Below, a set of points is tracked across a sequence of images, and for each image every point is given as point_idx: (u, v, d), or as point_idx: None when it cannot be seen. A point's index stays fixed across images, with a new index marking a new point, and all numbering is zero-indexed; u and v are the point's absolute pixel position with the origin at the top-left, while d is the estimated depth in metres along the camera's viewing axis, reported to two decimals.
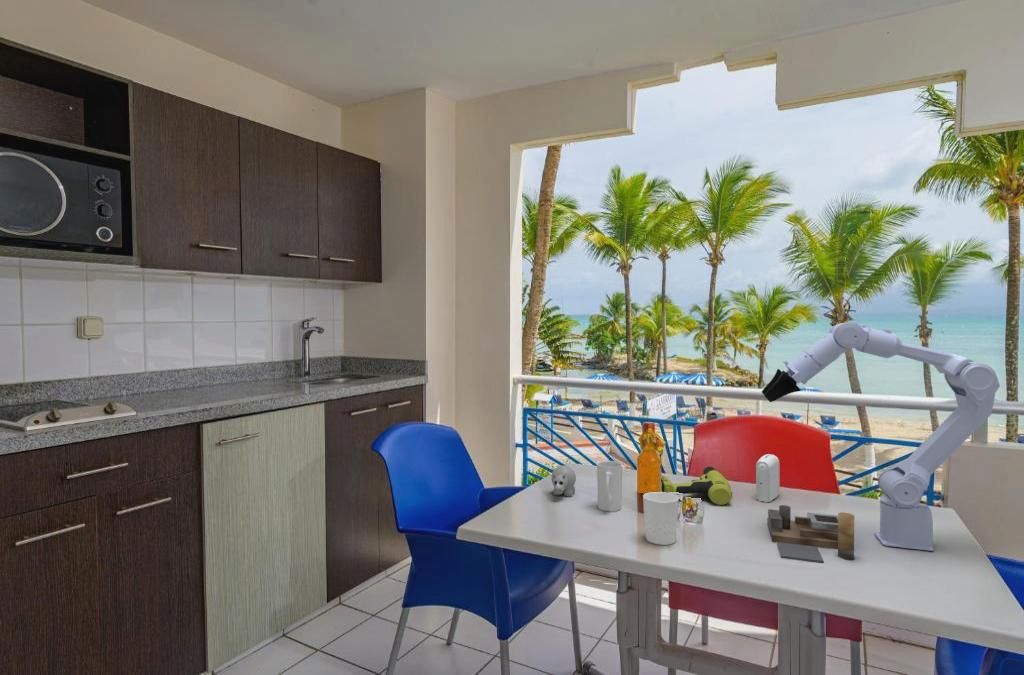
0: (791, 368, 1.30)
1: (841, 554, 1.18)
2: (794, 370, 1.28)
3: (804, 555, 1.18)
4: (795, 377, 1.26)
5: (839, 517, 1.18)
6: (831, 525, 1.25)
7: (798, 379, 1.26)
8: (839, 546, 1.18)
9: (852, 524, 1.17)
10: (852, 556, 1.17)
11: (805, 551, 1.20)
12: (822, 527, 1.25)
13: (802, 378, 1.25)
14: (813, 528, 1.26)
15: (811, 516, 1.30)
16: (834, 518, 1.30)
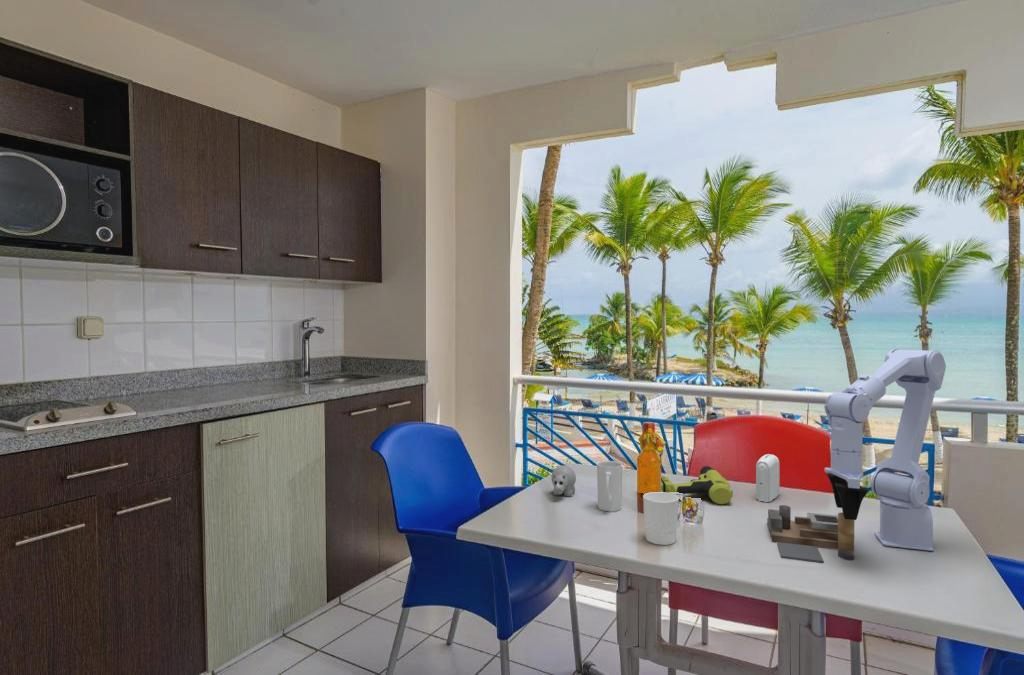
0: (838, 475, 1.15)
1: (841, 554, 1.18)
2: (843, 477, 1.14)
3: (804, 555, 1.18)
4: (851, 485, 1.11)
5: (839, 517, 1.18)
6: (831, 525, 1.25)
7: (856, 485, 1.11)
8: (839, 546, 1.18)
9: (852, 524, 1.17)
10: (852, 556, 1.17)
11: (805, 551, 1.20)
12: (822, 527, 1.25)
13: (858, 481, 1.11)
14: (813, 528, 1.26)
15: (811, 516, 1.30)
16: (834, 518, 1.30)
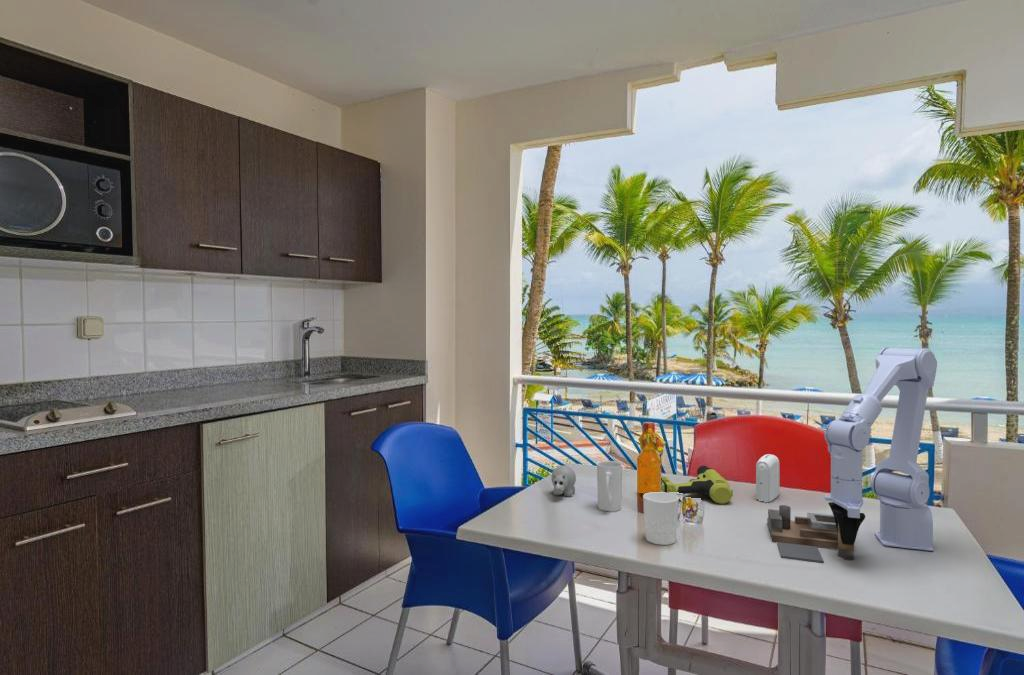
0: (838, 504, 1.16)
1: (841, 554, 1.18)
2: (843, 506, 1.14)
3: (804, 555, 1.18)
4: (851, 515, 1.11)
5: None
6: (831, 525, 1.25)
7: (856, 514, 1.11)
8: (839, 546, 1.18)
9: None
10: (852, 556, 1.17)
11: (805, 551, 1.20)
12: (822, 527, 1.25)
13: (858, 511, 1.11)
14: (813, 528, 1.26)
15: (811, 516, 1.30)
16: None
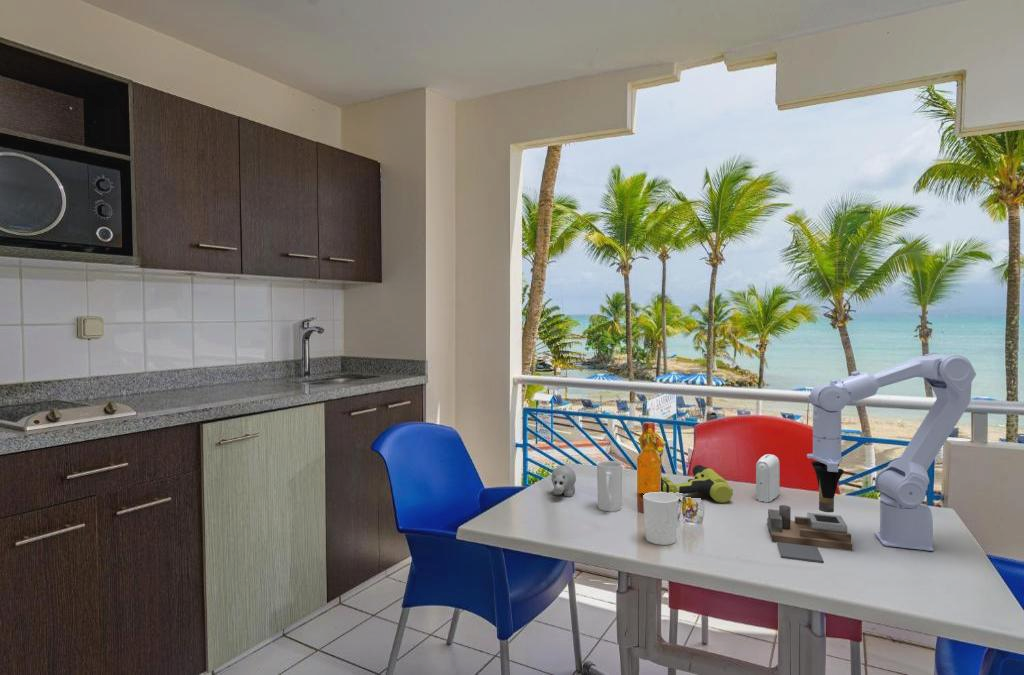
0: (819, 460, 1.25)
1: (822, 507, 1.28)
2: (823, 461, 1.24)
3: (804, 555, 1.18)
4: (830, 469, 1.21)
5: None
6: (831, 525, 1.25)
7: (834, 468, 1.21)
8: (820, 500, 1.28)
9: None
10: (832, 509, 1.27)
11: (805, 551, 1.20)
12: (822, 527, 1.25)
13: (836, 465, 1.21)
14: (813, 528, 1.26)
15: (811, 516, 1.30)
16: (834, 518, 1.30)
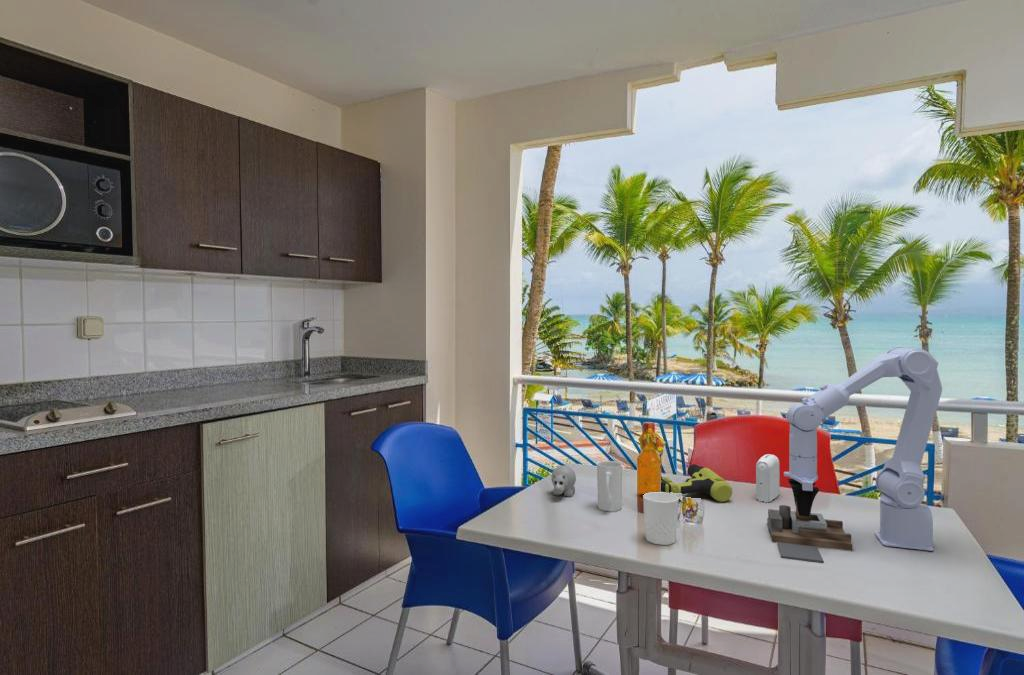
0: (795, 479, 1.27)
1: None
2: (799, 480, 1.26)
3: (804, 555, 1.18)
4: (805, 488, 1.23)
5: None
6: (811, 523, 1.26)
7: (809, 487, 1.23)
8: (797, 517, 1.30)
9: None
10: None
11: (805, 551, 1.20)
12: (802, 525, 1.27)
13: (811, 484, 1.23)
14: (793, 526, 1.27)
15: (792, 514, 1.31)
16: (815, 516, 1.31)
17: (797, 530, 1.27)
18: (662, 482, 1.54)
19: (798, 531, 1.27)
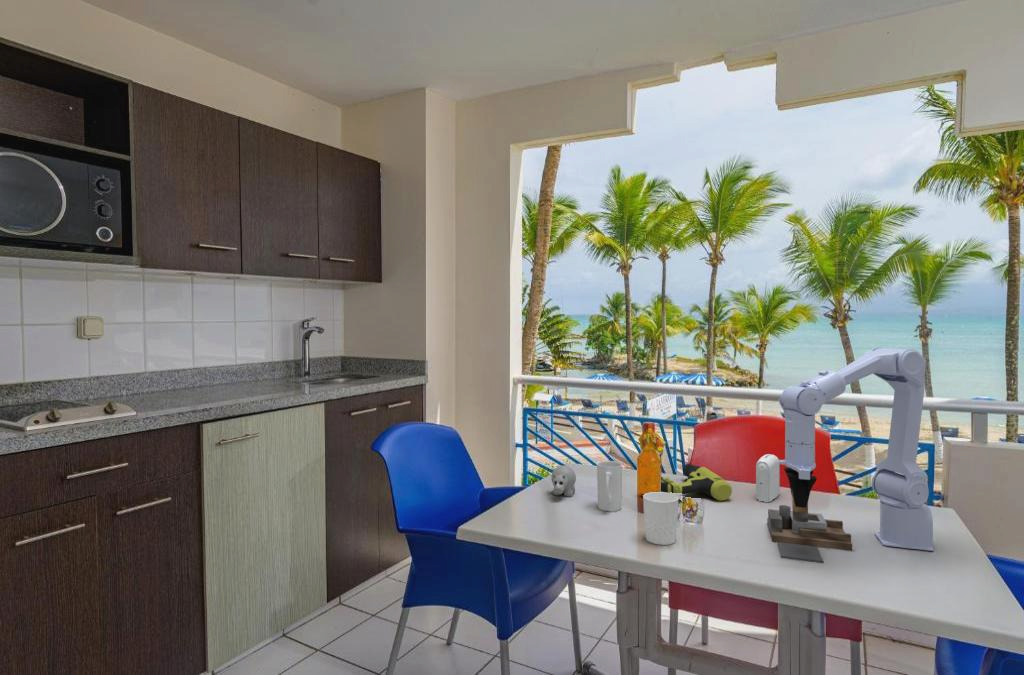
0: (791, 467, 1.18)
1: (795, 517, 1.20)
2: (795, 468, 1.16)
3: (804, 555, 1.18)
4: (802, 476, 1.14)
5: None
6: (811, 523, 1.26)
7: (806, 476, 1.14)
8: (793, 509, 1.20)
9: None
10: (806, 518, 1.19)
11: (805, 551, 1.20)
12: (802, 525, 1.27)
13: (808, 472, 1.14)
14: (793, 526, 1.27)
15: (792, 514, 1.31)
16: (815, 516, 1.31)
17: (797, 530, 1.27)
18: (664, 482, 1.53)
19: (798, 531, 1.27)
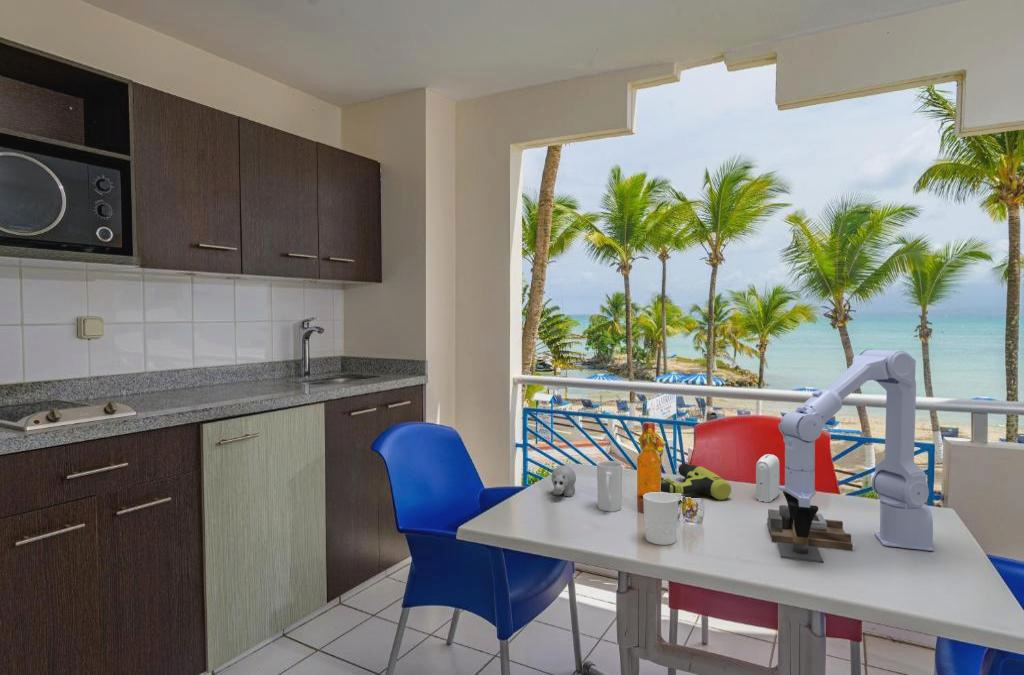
0: (791, 494, 1.18)
1: (795, 548, 1.20)
2: (795, 495, 1.16)
3: (804, 555, 1.18)
4: (802, 504, 1.14)
5: None
6: None
7: (806, 504, 1.13)
8: (794, 540, 1.20)
9: None
10: (806, 550, 1.19)
11: None
12: None
13: (808, 500, 1.13)
14: None
15: None
16: (815, 516, 1.31)
17: None
18: (666, 483, 1.53)
19: None
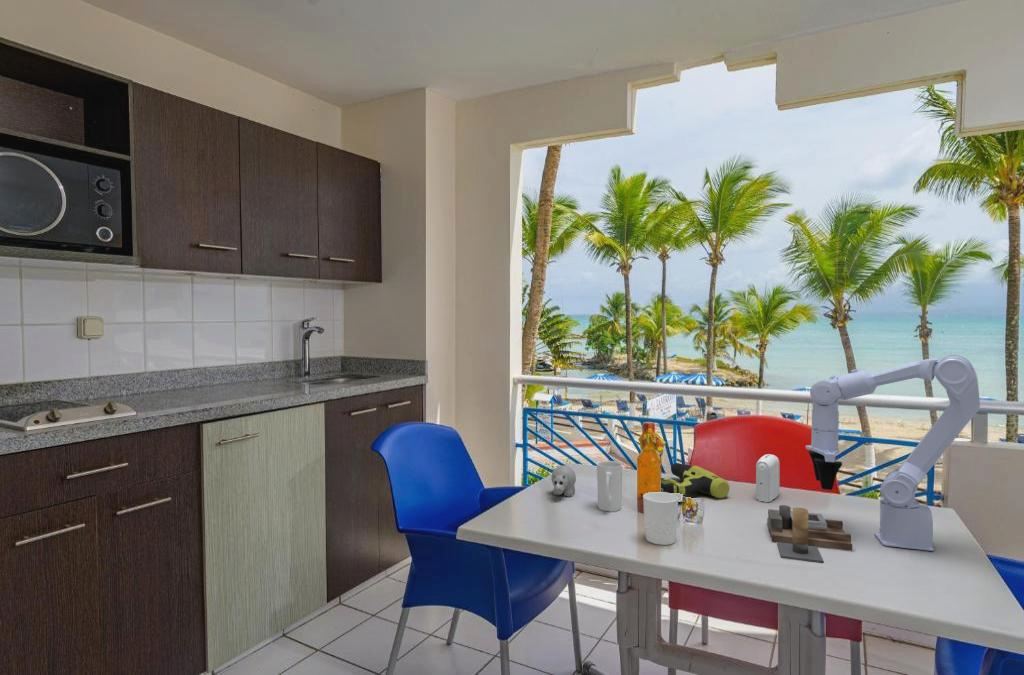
0: (817, 451, 1.33)
1: (795, 548, 1.20)
2: (821, 452, 1.31)
3: (804, 555, 1.18)
4: (828, 459, 1.29)
5: (793, 512, 1.20)
6: (811, 523, 1.26)
7: (831, 459, 1.28)
8: (794, 540, 1.20)
9: (806, 519, 1.19)
10: (806, 550, 1.19)
11: None
12: None
13: (833, 456, 1.28)
14: None
15: (792, 514, 1.31)
16: (815, 516, 1.31)
17: None
18: (670, 483, 1.52)
19: None
